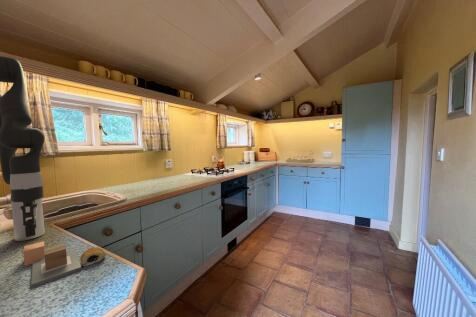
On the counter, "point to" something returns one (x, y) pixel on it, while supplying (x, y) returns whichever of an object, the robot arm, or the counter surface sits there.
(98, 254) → the pastry
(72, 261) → the plate
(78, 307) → the counter surface
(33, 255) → the terracotta block
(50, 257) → the walnut block
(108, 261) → the counter surface
